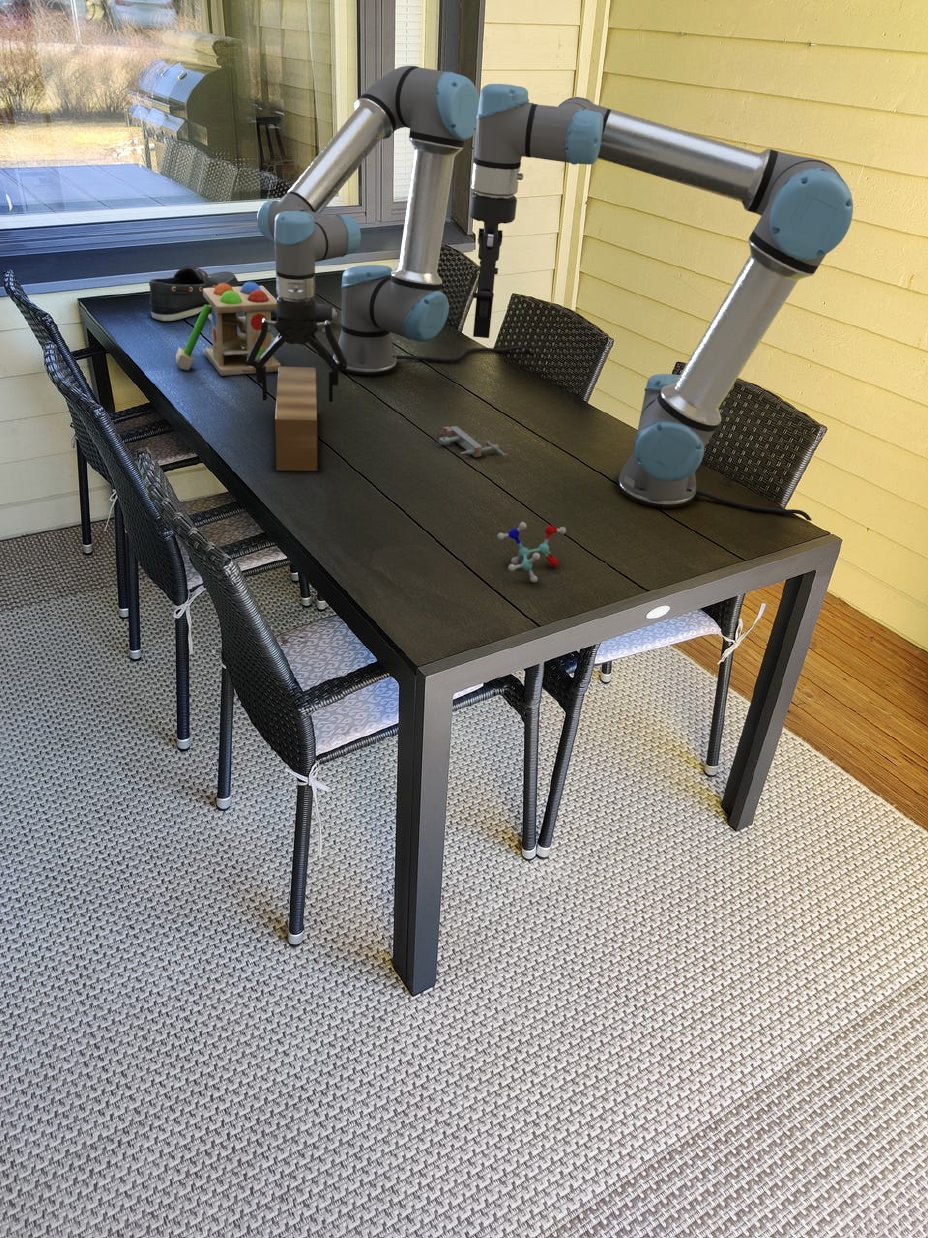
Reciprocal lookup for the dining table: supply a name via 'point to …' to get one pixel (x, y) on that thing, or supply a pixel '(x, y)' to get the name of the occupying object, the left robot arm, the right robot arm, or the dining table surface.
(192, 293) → the boat shoe
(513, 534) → the molecular model
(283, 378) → the box
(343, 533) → the dining table surface
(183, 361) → the pounding bench toy
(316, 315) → the power drill
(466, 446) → the clamp
